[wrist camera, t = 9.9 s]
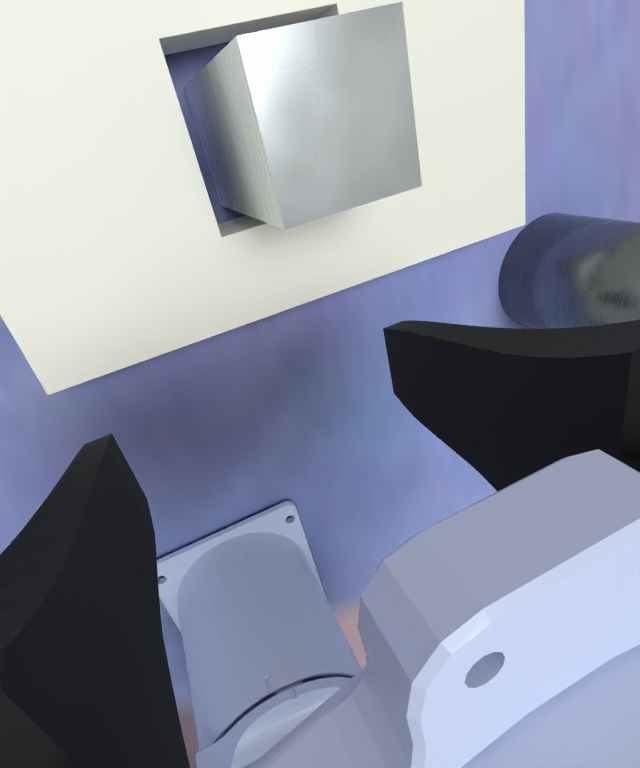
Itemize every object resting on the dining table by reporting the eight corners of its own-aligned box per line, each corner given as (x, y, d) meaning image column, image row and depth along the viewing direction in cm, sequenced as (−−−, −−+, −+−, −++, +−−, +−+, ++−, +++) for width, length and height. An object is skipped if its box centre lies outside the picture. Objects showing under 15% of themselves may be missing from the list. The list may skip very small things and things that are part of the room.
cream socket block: (479, 217, 23) (525, 224, 21) (55, 363, 19) (47, 395, 16) (463, -118, 17) (523, -166, 15) (-164, -29, 13) (-231, -76, 10)
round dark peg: (582, 304, 28) (730, 348, 22) (500, 338, 27) (631, 397, 20) (588, 199, 25) (762, 213, 19) (496, 232, 24) (648, 259, 17)
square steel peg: (313, 178, 20) (421, 186, 13) (220, 205, 19) (284, 229, 12) (288, 63, 18) (402, 1, 11) (183, 87, 17) (236, 36, 10)
